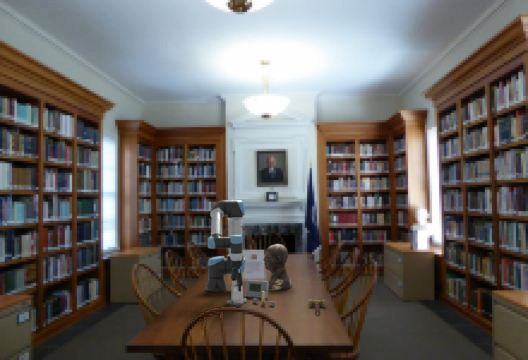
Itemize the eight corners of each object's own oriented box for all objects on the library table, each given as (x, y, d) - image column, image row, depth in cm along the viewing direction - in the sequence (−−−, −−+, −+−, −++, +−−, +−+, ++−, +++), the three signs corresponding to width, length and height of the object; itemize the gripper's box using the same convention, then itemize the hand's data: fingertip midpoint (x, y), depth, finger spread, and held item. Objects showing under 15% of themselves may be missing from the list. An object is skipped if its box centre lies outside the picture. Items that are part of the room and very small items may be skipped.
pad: (227, 303, 242) (227, 302, 242) (235, 300, 249) (235, 300, 249) (238, 305, 238) (238, 304, 238) (245, 302, 245) (245, 301, 245)
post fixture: (252, 303, 243) (252, 290, 244) (254, 302, 245) (254, 289, 246) (272, 306, 236) (272, 293, 236) (274, 305, 238) (274, 292, 238)
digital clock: (243, 296, 260) (243, 280, 260) (251, 293, 267) (250, 278, 268) (264, 300, 251) (264, 283, 252) (271, 296, 259) (271, 280, 259)
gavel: (326, 311, 216) (308, 310, 217) (326, 319, 216) (308, 318, 217) (324, 298, 237) (308, 298, 238) (325, 306, 237) (308, 305, 238)
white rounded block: (228, 304, 239) (228, 286, 240) (226, 301, 245) (226, 284, 245) (247, 302, 243) (247, 284, 243) (244, 300, 249) (244, 282, 249)
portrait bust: (292, 280, 310) (291, 241, 311) (290, 290, 275) (289, 247, 277) (265, 279, 312) (265, 241, 314) (261, 290, 277) (260, 246, 279)
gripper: (247, 262, 234) (247, 298, 234) (237, 256, 258) (237, 288, 257) (235, 263, 232) (235, 299, 231) (226, 257, 256) (226, 289, 255)
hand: (236, 293), depth 244 cm, fingers open, 13 cm apart
